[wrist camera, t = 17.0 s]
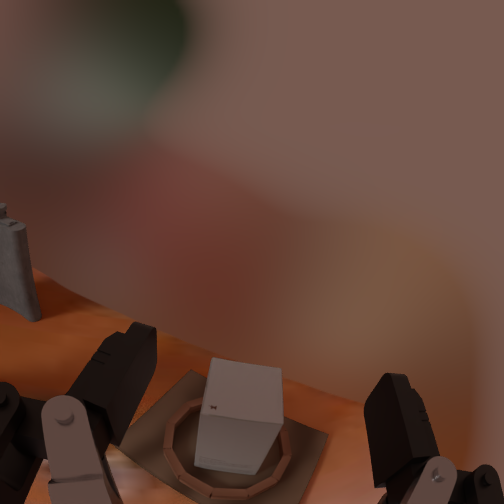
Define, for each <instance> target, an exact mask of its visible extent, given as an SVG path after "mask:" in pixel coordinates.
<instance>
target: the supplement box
mask: <svg viewBox="0 0 504 504" xmlns="http://www.w3.org/2000/svg"><path fill="white" fill-rule="evenodd" d="M283 424H284V411H283V386H282V369H281V368H275V367H268V366H261V365H255V364H248V363H242V362H235V361H230V360H225V359H220V358H215V357H213V358H212V359H211V364H210V368H209V373H208V378H207V382H206V387H205V392H204V397H203V402H202V407H201V412H200V419H199V427H198V436H197V445H196V454H195V462H194V466H195V467H200V468H205V469H211V470H217V471H224V472H230V473H238V474H247V475H255V474H256V473H257V471H258V470H259V468H260V466H261V464H262V463H263V461H264V459H265V457H266V455H267V454H268V452H269V450H270V448H271V446H272V444H273V442H274V441H275V439H276V437H277V435H278V433H279V431H280V429H281V427H282V425H283Z"/></svg>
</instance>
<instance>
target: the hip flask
mask: <svg viewBox="0 0 504 504" xmlns="http://www.w3.org/2000/svg"><path fill="white" fill-rule="evenodd" d="M6 209H7V206H6V204H5V203H0V304H2V305H4V306H7V307H9V308H11V309H12V310H14V311H16V312H18V313H19V314H21V315H22V316H24V317H25V318H26V319H27V320H29V321H31V322H36V321H38V320H40V319H41V317H42V314H41V310H40V306H39V302H38V297H37V293H36V288H35V283H34V278H33V273H32V267H31V261H30V255H29V248H28V241H27V232H26V225H25V224H24V223H21V222H19V221H17V220H14V219H12V218H9V217H7V216H6Z"/></svg>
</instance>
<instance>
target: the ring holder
mask: <svg viewBox="0 0 504 504" xmlns="http://www.w3.org/2000/svg"><path fill="white" fill-rule="evenodd" d="M206 382H207V378H205V377H204V376H202V375H200V374H198V373H196V372H195V371H193V370H190V371H189V372H188V373H187V374H186V375H185V376H184V377H183V378H182V379H180V380H179V381H178V382H177V383H176V384H175V385H174V386H173V387H172V388H171V389H170V390H169V391H168V392H167V393H166V394H165V395H164V396H163V397H162V398H161V399H159V400H158V401H157V402H156V403H155V404H154V405H153V406H152V407H151V408H150V409H149V410H148V411H147V412H146V413H145V414H143V415H142V416H141V417H140V418H139V419H138V420H137V421H136V422H135V423H134V424H133V425H131V426H130V427H129V428H128V429H127V431H126V433H125V435H124V438H123V440H122V442H121V444H120V446H119V447H118V446H115V445H114V446H115V447H116V448H118V449H119V450H120V451H121V452H122V453H124V454H125V455H126V456H128V457H129V458H130V459H131V460H133V461H134V462H135V463H137V464H138V465H140V466H141V467H142V468H144V469H145V470H146V471H148V472H149V473H151V474H152V475H154V476H155V477H156V478H158V479H159V480H161V481H162V482H164V483H166V484H167V485H169V486H170V487H172V488H173V489H175V490H177V491H178V492H180V493H181V494H183V495H185V496H186V497H188V498H190V499H192V500H193V501H195V502H197V503H199V504H299V502H300V500H301V498H302V496H303V494H304V491H305V489H306V487H307V485H308V483H309V481H310V478H311V476H312V474H313V472H314V469H315V467H316V465H317V462H318V460H319V457H320V455H321V453H322V450H323V448H324V445H325V443H326V440H327V437H328V435H329V434H326V433H324V432H321V431H318V430H316V429H313V428H311V427H308V426H306V425H303V424H301V423H298V422H296V421H294V420H291V419H289V418H287V417H284V424H283V425H282V427H281V429H280V431H279V433H278V435H277V437H276V439H275V441H274V442H273V444H272V446H271V448H270V450H269V452H268V454H267V455H266V457H265V459H264V461H263V463H262V464H261V466H260V468H259V470H258V471H257V473H256V474H255V475H247V474H238V473H230V472H224V471H217V470H211V469H205V468H200V467H195V466H194V462H195V454H196V445H197V436H198V427H199V419H200V412H201V407H202V402H203V397H204V392H205V387H206Z"/></svg>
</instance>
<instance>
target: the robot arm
mask: <svg viewBox="0 0 504 504" xmlns="http://www.w3.org/2000/svg"><path fill="white" fill-rule="evenodd" d="M156 363H157V332H156V328H155V327H152V326H148V325H145V324H142V323H139V322H133V323H132V324H131V326H130V327H129V329H128V330H127V332H126V333H125V334H124V333H121V332H118V331H117V332H115V333H114V334H112V335H111V336H109V337H107V338H106V339H105V340H104V341H103V342H102V344H101V345H100V347H99V348H98V349H97V352H95V354H94V355H93V356H92V358H91V360H90V361H89V362H88V363H87V365H86V366H85V368H84V369H83V370H82V372H81V373H80V375H79V376H78V378H77V379H76V381H75V382H74V384H73V385H72V386H71V388H70V389H69V391H68V392H67V393H66V394H65V395H60V396H56V397H53V398H51V399H50V400H48V401H40V400H35V399H31V398H26V397H22V396H20V395H19V393H18V391H17V390H16V388H15V387H14V386H13V385H11V384H9V383H7V382H0V504H24V502H25V500H26V497H27V495H28V493H29V490H30V488H31V486H32V483H33V481H34V479H35V477H36V474H37V472H38V470H39V468H40V466H41V463H42V461H43V459H47V460H48V463H49V467H50V472H51V480H50V481H49V482H48V491H49V496H50V499H51V503H52V504H124V503H123V501H122V499H121V497H120V494H119V492H118V489H117V486H116V484H115V481H114V478H113V476H112V473H111V470H110V467H109V464H108V461H107V458H106V455H105V452H106V450H107V447H108V445H109V443H111V444H113V445H115V446H118V447H119V446H120V444H121V442H122V440H123V438H124V435H125V433H126V431H127V429H128V427H129V425H130V422H131V420H132V418H133V416H134V414H135V412H136V410H137V407H138V405H139V403H140V401H141V399H142V397H143V395H144V393H145V391H146V389H147V386H148V384H149V382H150V380H151V378H152V376H153V374H154V371H155V368H156ZM364 418H365V424H366V430H367V436H368V443H369V449H370V456H371V464H372V471H373V479H374V488H383V487H386V490H387V492H386V493H385V494H384V495H383V496H382V498H381V499H380V501H379V502H378V504H504V496H503V492H502V488H501V484H500V480H499V476H498V474H497V472H496V470H495V469H494V468H493V467H492V466H490V465H481V466H479V467H478V468H477V469H476V470H474V471H473V472H468V471H462V470H456V468H455V466H454V464H453V463H452V462H451V461H450V460H449V459H447V458H445V457H442V456H440V454H439V451H438V447H437V444H436V441H435V437H434V434H433V431H432V428H431V424H430V422H429V418H428V415H427V413H426V409H425V406H424V403H423V401H422V398H421V397H420V396H419V394H418V393H417V392H416V391H415V389H411V386H410V383H409V381H408V378H407V376H406V375H404V374H394V373H385V374H384V375H383V376H382V378H381V379H380V381H379V382H378V384H377V385H376V387H375V388H374V389H373V391H372V392H371V394H370V395H369V397H368V398H367V400H366V402H365V406H364Z"/></svg>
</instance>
